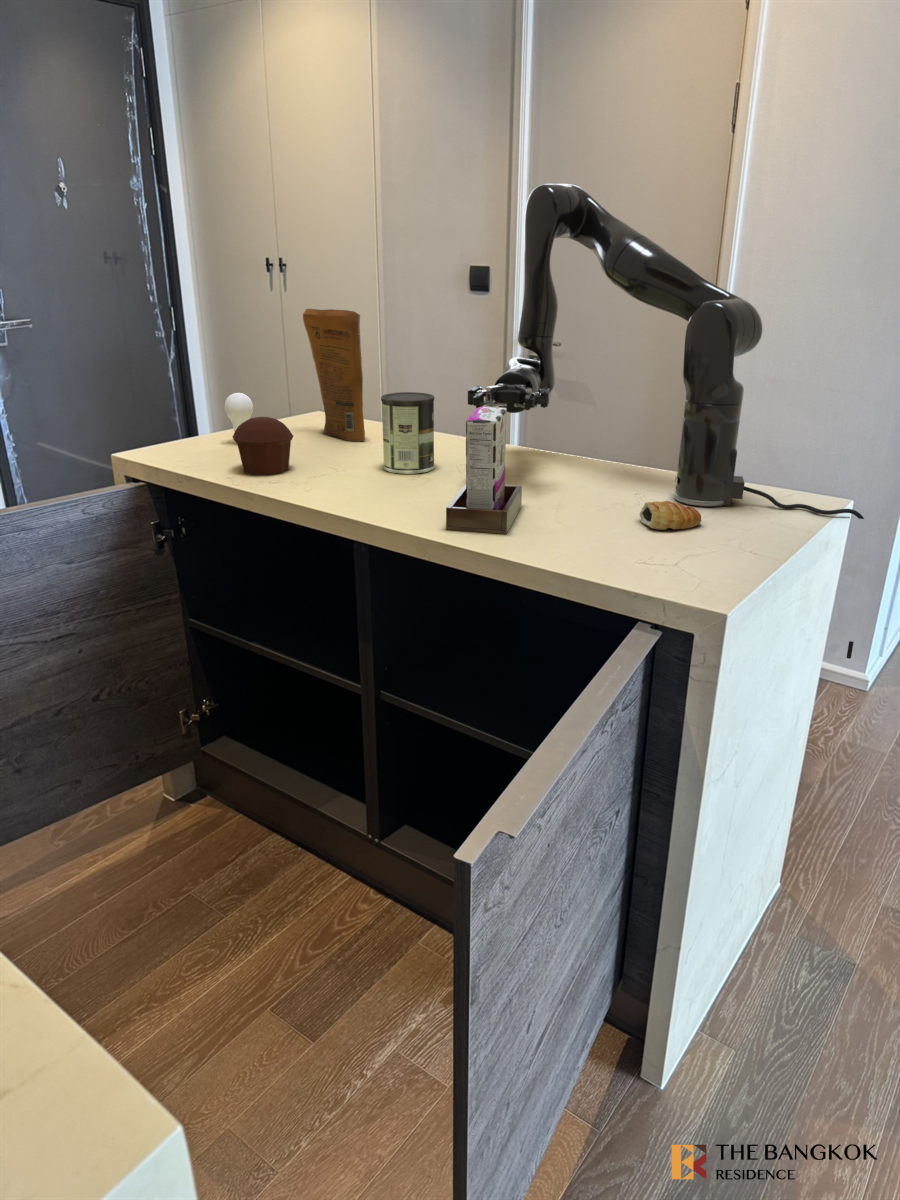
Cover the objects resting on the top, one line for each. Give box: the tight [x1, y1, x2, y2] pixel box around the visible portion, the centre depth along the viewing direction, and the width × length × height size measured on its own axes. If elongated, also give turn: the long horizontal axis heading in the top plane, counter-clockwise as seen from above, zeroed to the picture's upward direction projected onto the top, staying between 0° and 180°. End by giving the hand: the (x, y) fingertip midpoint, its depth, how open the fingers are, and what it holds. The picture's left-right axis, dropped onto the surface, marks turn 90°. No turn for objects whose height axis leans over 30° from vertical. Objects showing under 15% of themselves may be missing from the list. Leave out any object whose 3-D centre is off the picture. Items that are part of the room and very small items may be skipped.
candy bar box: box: [465, 406, 507, 510], centre depth 138 cm, size 11×5×16 cm, turn 168°
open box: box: [445, 483, 523, 535], centre depth 140 cm, size 10×16×4 cm, turn 167°
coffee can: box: [380, 391, 435, 475], centre depth 169 cm, size 10×10×14 cm
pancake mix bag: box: [302, 308, 366, 442], centre depth 193 cm, size 7×19×28 cm, turn 40°
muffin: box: [232, 416, 294, 476], centre depth 168 cm, size 12×11×10 cm
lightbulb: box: [224, 392, 254, 432], centre depth 190 cm, size 6×6×11 cm
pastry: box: [639, 500, 702, 531], centre depth 137 cm, size 9×7×4 cm
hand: (502, 403), depth 147 cm, fingers open, 8 cm apart
